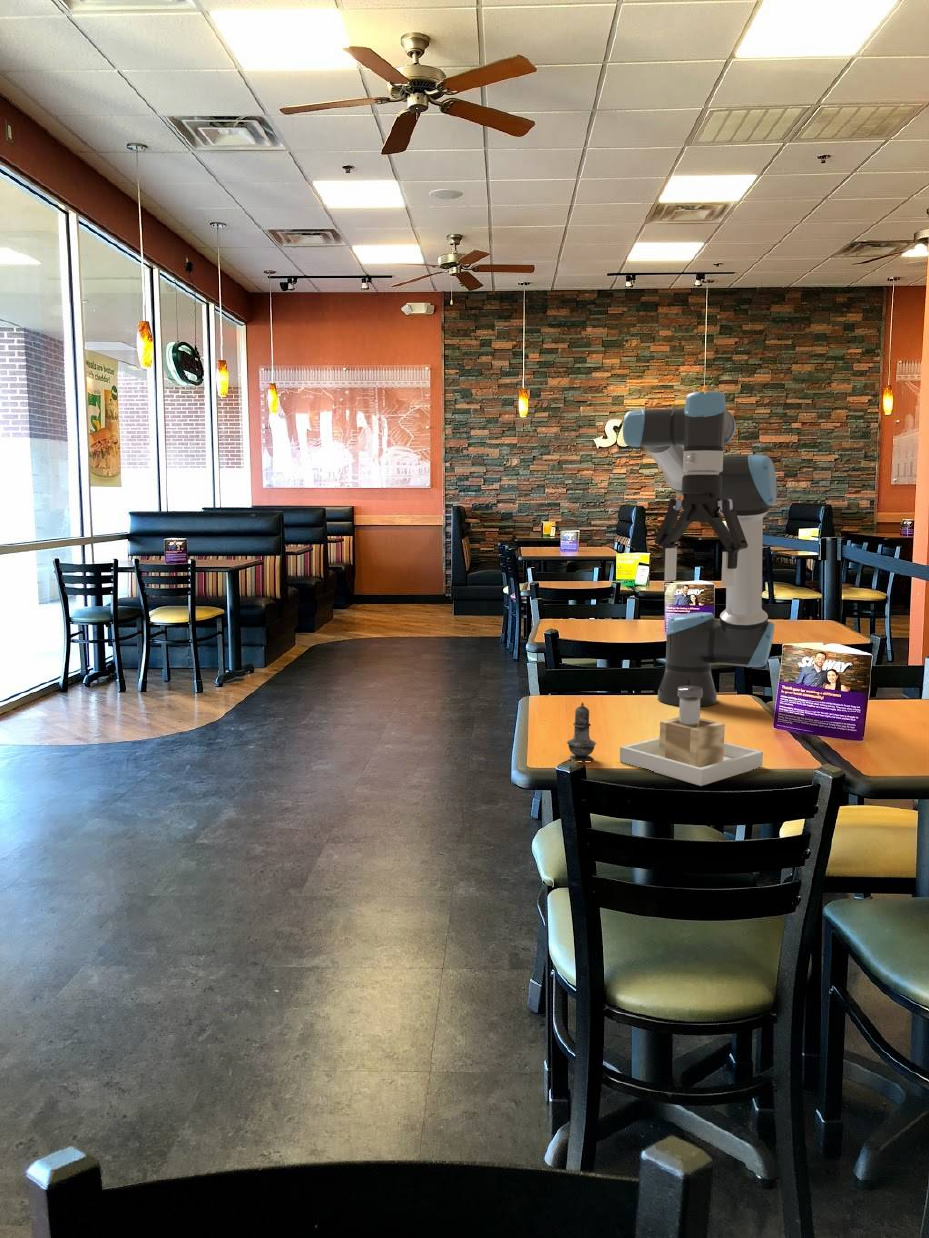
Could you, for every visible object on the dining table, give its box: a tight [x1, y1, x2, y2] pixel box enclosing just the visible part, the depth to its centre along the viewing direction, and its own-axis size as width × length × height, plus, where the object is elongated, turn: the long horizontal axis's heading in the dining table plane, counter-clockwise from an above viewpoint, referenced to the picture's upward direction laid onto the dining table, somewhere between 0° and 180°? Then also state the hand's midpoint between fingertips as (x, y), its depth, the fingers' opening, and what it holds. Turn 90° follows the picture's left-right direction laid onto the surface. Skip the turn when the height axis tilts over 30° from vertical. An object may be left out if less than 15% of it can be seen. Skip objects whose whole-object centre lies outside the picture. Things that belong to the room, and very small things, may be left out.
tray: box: [619, 736, 764, 787], centre depth 188 cm, size 20×20×3 cm
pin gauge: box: [678, 686, 703, 728], centre depth 187 cm, size 5×5×15 cm
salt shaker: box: [566, 702, 597, 762], centre depth 190 cm, size 6×6×12 cm
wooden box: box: [659, 717, 726, 768], centre depth 187 cm, size 9×9×8 cm
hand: (697, 583), depth 183 cm, fingers open, 13 cm apart
